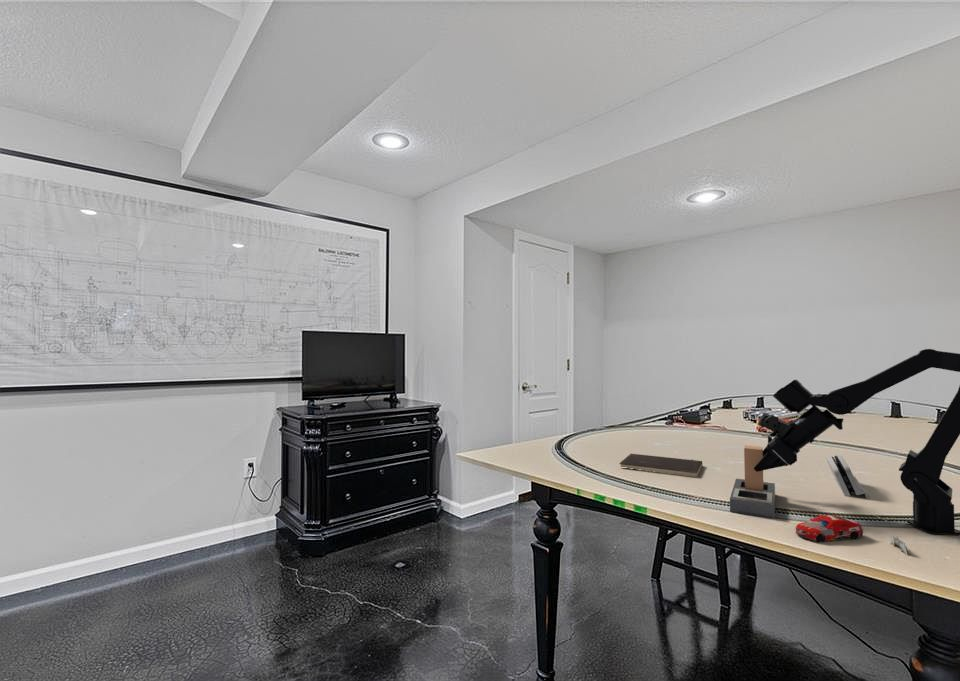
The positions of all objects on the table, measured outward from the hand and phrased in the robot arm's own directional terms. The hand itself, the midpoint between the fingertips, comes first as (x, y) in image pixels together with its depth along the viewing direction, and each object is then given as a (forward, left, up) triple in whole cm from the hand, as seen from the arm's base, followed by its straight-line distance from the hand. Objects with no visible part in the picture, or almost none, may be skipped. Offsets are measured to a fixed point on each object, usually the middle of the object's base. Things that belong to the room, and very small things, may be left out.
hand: (755, 466), depth 121 cm
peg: (0, 0, -8) cm, 8 cm away
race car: (-24, -4, -9) cm, 26 cm away
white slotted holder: (+11, -27, -9) cm, 31 cm away
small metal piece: (-30, -14, -9) cm, 34 cm away
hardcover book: (+30, +16, -9) cm, 35 cm away
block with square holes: (-4, +2, -8) cm, 10 cm away
